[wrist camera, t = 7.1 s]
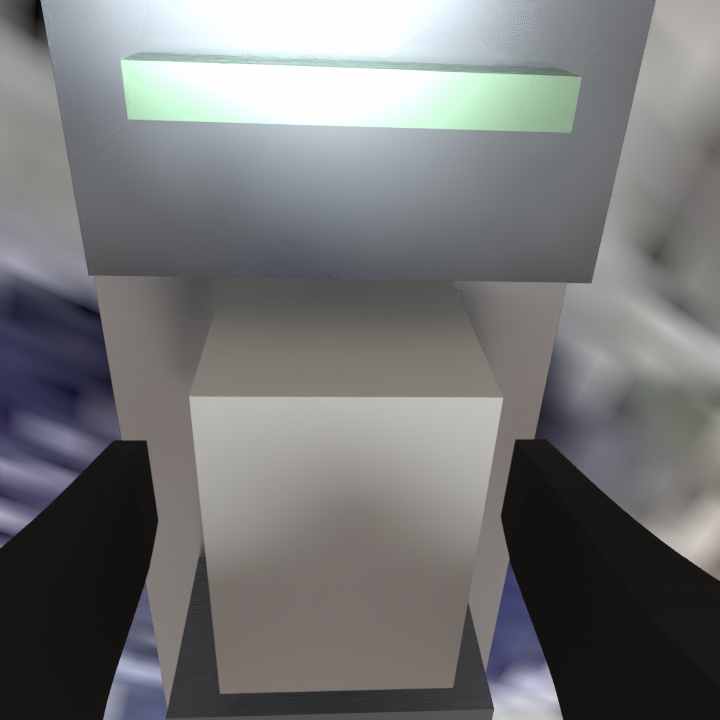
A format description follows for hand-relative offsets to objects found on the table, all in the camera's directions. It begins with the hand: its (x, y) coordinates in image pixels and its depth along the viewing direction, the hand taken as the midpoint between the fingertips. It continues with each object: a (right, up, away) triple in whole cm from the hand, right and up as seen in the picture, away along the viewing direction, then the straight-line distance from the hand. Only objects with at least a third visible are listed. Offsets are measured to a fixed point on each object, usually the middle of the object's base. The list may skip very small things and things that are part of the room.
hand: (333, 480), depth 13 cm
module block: (0, +2, +2) cm, 3 cm away
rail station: (0, +2, +3) cm, 3 cm away
